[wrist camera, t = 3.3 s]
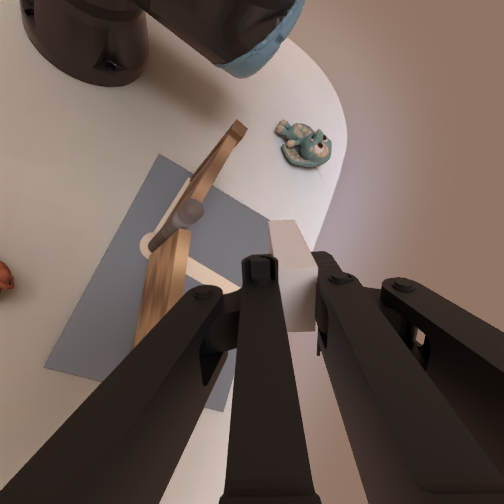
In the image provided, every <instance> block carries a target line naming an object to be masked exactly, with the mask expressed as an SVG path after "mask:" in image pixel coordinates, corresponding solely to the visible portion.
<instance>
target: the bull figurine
mask: <svg viewBox="0 0 504 504" xmlns="http://www.w3.org/2000/svg"><path fill="white" fill-rule="evenodd" d="M13 279H14V276H13V275H11V272H10V270H9V268H8V267H7V265H6V264H5V263H3V262H1V261H0V292H1V289H8V290H10V289H13V288H14V282H13ZM8 282H9V285H8V284H7V283H8Z"/></svg>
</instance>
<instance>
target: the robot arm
mask: <svg viewBox="0 0 504 504" xmlns="http://www.w3.org/2000/svg"><path fill="white" fill-rule="evenodd" d="M304 2H305V0H20V8H21V14H22V20H23V24H24V27H25V30H26V33H27V35H28V37H29V38H30V40H31V41H32V43H33V44H34V46H35V47H36V48H37V49H38V51H39V52H40V53H41V54H42V55H43V56H44V57H45V58H46V59H47V60H49V61H50V62H51V63H52V64H53V65H55V66H56V67H58V68H59V69H61V70H62V71H64V72H65V73H67V74H69V75H71V76H73V77H75V78H77V79H80V80H82V81H85V82H88V83H92V84H96V85H102V86H119V85H124V84H127V83H130V82H132V81H134V80H135V79H137V78H138V77H139V76H140V75H141V73H142V72H143V70H144V68H145V65H146V61H147V57H148V53H149V40H148V31H147V23H146V15H145V12H147V13H148V14H149V15H150V16H152V17H153V18H154V19H156V20H157V21H158V22H160V23H161V24H162V25H164V26H165V27H166V28H167V29H169V30H170V31H171V32H173V33H174V34H175V35H177V36H178V37H179V38H180V39H182V40H183V41H184V42H186V43H187V44H188V45H190V46H191V47H192V48H193V49H195V50H196V51H197V52H199V53H200V54H201V55H203V56H204V57H205V58H207V59H208V60H209V61H210V62H212V64H213V65H215V66H216V67H219V68H222V69H223V70H225V71H226V72H228V73H229V74H231V75H232V76H234V77H236V78H247V77H250V76H252V75H253V74H255V73H256V72H258V71H259V70H260V69H261V68H262V67H263V66H264V65H265V64H266V63H267V62H268V61H269V60H270V59H271V58H272V57H273V55H274V54H275V53H276V52H277V50H278V49H279V47H280V44H281V42H283V41H284V40H285V39H286V38H287V36H288V35H289V33H290V32H291V30H292V29H293V27H294V25H295V24H296V22H297V20H298V18H299V16H300V14H301V11H302V8H303V6H304ZM268 233H269V254H255V255H250V256H248V257H246V258H244V259H243V260H242V261H241V265H242V282H243V283H242V288H240V289H239V290H237V291H234V292H231V293H227V294H223V291H222V289H221V288H220V287H218V286H214V285H206V284H204V285H199V286H196V287H194V288H191V289H190V290H188V291H187V292H186V293H185V294H184V295H183V296H182V297H181V298H180V299H179V300H178V302H177V303H176V304H175V305H174V306H173V307H172V308H171V309H170V310H169V311H168V312H167V313H166V314H165V315H164V317H163V318H162V319H161V320H160V321H159V322H158V323H157V324H156V325H155V326H154V327H153V328H152V329H151V330H150V331H149V333H148V334H147V335H146V336H145V337H144V338H143V339H142V340H141V341H140V342H139V343H138V344H137V345H136V346H135V348H134V349H133V350H132V351H131V352H130V353H129V354H128V355H127V356H126V357H125V358H124V359H123V360H122V361H121V363H120V364H119V365H118V366H117V367H116V368H115V369H114V370H113V371H112V372H111V373H110V374H109V375H108V376H107V377H106V379H105V380H104V381H103V382H102V383H101V384H100V385H99V386H98V387H97V388H96V389H95V390H94V391H93V392H92V394H91V395H90V396H89V397H88V398H87V399H86V400H85V401H84V402H83V403H82V404H81V405H80V406H79V407H78V409H77V410H76V411H75V412H74V413H73V414H72V415H71V416H70V417H69V418H68V419H67V420H66V421H65V422H64V424H63V425H62V426H61V427H60V428H59V429H58V430H57V431H56V432H55V433H54V434H53V435H52V436H51V437H50V438H49V440H48V441H47V442H46V443H45V444H44V445H43V446H42V447H41V448H40V449H39V450H38V451H37V452H36V453H35V455H34V456H33V457H32V458H31V459H30V460H29V461H28V462H27V463H26V464H25V465H24V466H23V467H22V468H21V470H20V471H19V472H18V473H17V474H16V475H15V476H14V477H13V478H12V479H11V480H10V481H9V482H8V483H7V485H6V486H5V487H4V488H3V489H2V490H1V491H0V504H159V502H160V500H161V498H162V496H163V494H164V492H165V490H166V488H167V485H168V483H169V481H170V479H171V477H172V475H173V473H174V470H175V468H176V466H177V464H178V462H179V460H180V458H181V456H182V453H183V451H184V449H185V447H186V445H187V443H188V441H189V438H190V436H191V434H192V432H193V430H194V428H195V426H196V423H197V421H198V419H199V417H200V415H201V413H202V411H203V409H204V406H205V404H206V402H207V400H208V398H209V396H210V394H211V391H212V389H213V387H214V385H215V383H216V381H217V379H218V377H219V374H220V372H221V370H222V368H223V366H224V364H225V362H226V359H227V357H228V351H229V350H232V349H236V348H237V352H236V364H235V375H234V387H233V398H232V410H231V421H230V433H229V444H228V456H227V467H226V479H225V488H224V493H223V495H222V496H221V497H220V500H219V504H322V503H321V500H320V497H319V496H318V495H317V494H316V493H315V490H314V486H313V481H312V476H311V470H310V464H309V458H308V452H307V446H306V440H305V435H304V429H303V423H302V417H301V411H300V405H299V399H298V393H297V388H296V381H295V376H294V370H293V364H292V358H291V352H290V346H289V340H288V334H287V332H304V331H305V332H307V331H315V322H317V325H318V339H317V356H320V351H321V352H322V355H323V358H324V361H325V364H326V368H327V371H328V374H329V377H330V381H331V384H332V387H333V390H334V393H335V397H336V400H337V403H338V406H339V409H340V413H341V416H342V419H343V423H344V426H345V429H346V432H347V435H348V439H349V442H350V445H351V448H352V451H353V455H354V458H355V461H356V465H357V467H358V471H359V474H360V478H361V481H362V484H363V487H364V491H365V494H366V497H367V500H368V503H369V504H504V332H502V331H500V330H499V329H497V328H495V327H493V326H491V325H490V324H488V323H487V322H485V321H483V320H481V319H480V318H478V317H476V316H474V315H472V314H471V313H469V312H467V311H466V310H464V309H463V308H461V307H459V306H457V305H456V304H454V303H452V302H451V301H449V300H447V299H445V298H444V297H442V296H440V295H439V294H437V293H435V292H433V291H431V290H430V289H428V288H426V287H425V286H423V285H421V284H420V283H417V282H415V281H413V280H409V279H407V278H400V277H397V278H389V279H385V280H384V281H383V282H382V287H381V289H374V288H367V287H363V286H362V284H361V283H360V282H359V280H358V279H357V278H356V277H355V276H353V275H351V274H349V273H345V272H342V270H341V269H340V267H339V265H337V263H336V261H335V260H334V258H333V257H332V255H330V254H329V253H327V252H325V251H319V252H310V250H309V248H308V246H307V244H306V242H305V240H304V238H303V236H302V234H301V232H300V230H299V228H298V226H297V224H296V222H295V220H281V221H268ZM418 329H420V330H421V331H422V332H423V333H424V334H425V335H426V336H425V340H424V344H423V345H422V344H420V343H419V342H417V341H416V336H417V331H418Z"/></svg>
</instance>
